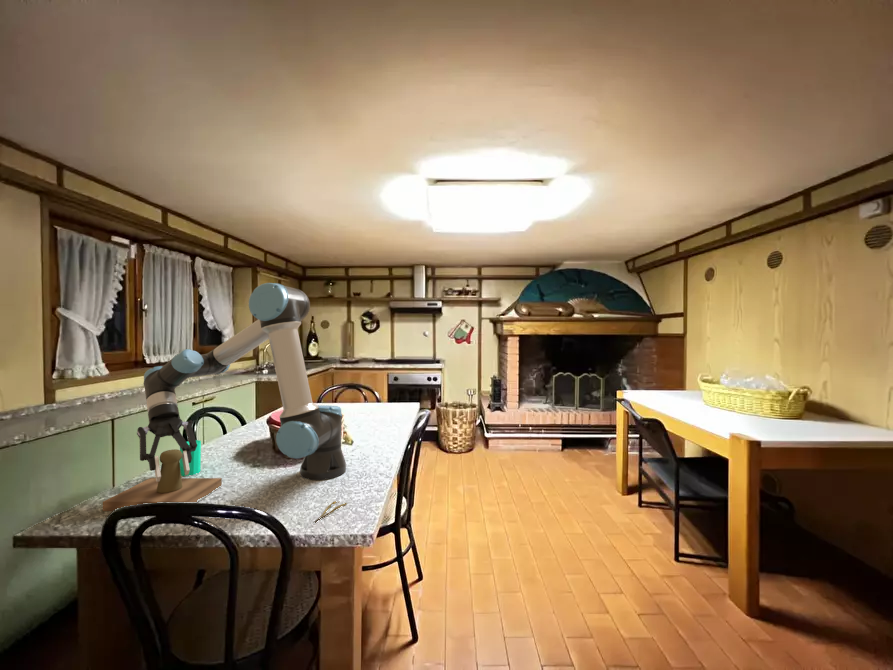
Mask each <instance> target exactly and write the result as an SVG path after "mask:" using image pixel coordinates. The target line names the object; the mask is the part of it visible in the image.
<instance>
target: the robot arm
mask: <svg viewBox="0 0 893 670" xmlns="http://www.w3.org/2000/svg"><path fill="white" fill-rule="evenodd" d="M248 310H249V311H250V313H251V315H252V316H253V317H254V318H256V319H257V320H255V321H254V322H252V323H250V324H249V325H248V326H247V327H244V328H243V329H242V330H240V331H239V332H238V333H236V334H234V335H233V336H231V337H230V338H228V339H227V340H226V341H224V342H223V343H221V344H219V345H218V346H216V347H215V348H214V349H212V350H211V351H208V352H207V353H205V354H201V353H199V352H198V351H196V350H192V349H187V348H185V349H183V350H181V351H180V352H179V353H177V354H176V355H174V356H173V357H172V358H171V359H170V360H169V361H168V362H166V363H165V364H164V365H160V366H159V365H158V366H153V367H152V368H149V369H148V370H146V371H145V373H143V384H142V385H143V386H144V393H145V400H146V409H147V416H148V425H147V426H144V427H143V426H139V427H138V428H137V429H136V430H137V432H136V435H137V437H138V439H139V460H140V461H142V462H143V461H147V462H148V466H149V471H151V472H152V471H154V475H155V478H156V482H158V481H160V478H161V472H160V471H161V467H160V457H159V455H156V452H157V449H158V446H159V444H160V439H161V438H164V437H172V438H173V439H174V441H176V444H177V445H178V447H179V449H180V448H181V449H182V451H183V454H182V461H183V466H184V472H185V475H188V474H189V471H190V468H189V463H191V460H192V456H191V452H192V451H195V450H196V447H197V443H196V440H197V439H196V436H195V432H194V429H193V420H188V421H183V419H182V418H181V417H180V412H179V411H180V410H179V407H178V400H177V396H176V395H177V394H176V389H177V387H178V386H180V385H182V383H184V382H185V381H187V379H190V378H197V377H205V376H214V375H215V376H216V375H220V374H223V373H226V372H227V371H228V370H229V368H230V367H231V364H233V363H234V362H236V361H238V360H239V359H240V358H243V357H244V356H245V355H246V354H248V353H250V352H251V351H253V350H254V349H256V348H258V347H259V346H260V345H262V344H263V343H265V342H267V341H269V345H270V349H271V350H270V351H271V354H272V355H271V356H272V360H273V365H274V371H275V375H276V380H277V384H278V389H279V394H280V399H281V404H282V409H283V410H282V412H281V414H280V415H279V421H280V422H279V423H280V427H279V428H278V431H276V436H275V440H276V445H277V448H278V449H279V451H280V452H281V453H282V454H283V455H284V456H287V457H288V458H290V459H297V460H299V459H302V462H301V464H300V469H299V472H300V474H299V475H300V477H302V478H303V479H306V480H313V481H319V480H320V481H322V480H328V479H329V480H330V479H333V478H336V477H339V476H342V475H343V474H344V473H345V472H346V470H347V462H346V459H345V456H344V453H343V450H342V421H343V419H342V417H343V415H342V408H341V407H340V406H338V405H325V404H324V405H323V404H322V405H317V404H315V403H314V401H313V399H312V398H313V397H312V393H311V388H310V383H309V379H308V373H307V368H306V363H305V358H304V356H303V349H302V344H301V340H300V336H299V331H298V330H299V327H300V326H301V325H302V321H303V320H305V319H306V317H307V316H308V315H309V312H310V310H311V301H310V299H309V297H308V295H307V294H306V293H305V292H304V291H302V290H301V289H299V288H296V287H291V286H287V285H283V284H281V283H277V282H274V283H273V282H266V283H262V284H260V285H258V286H256V287H255V288H254V289H253V291H252V292H251V293H250V295H249V298H248ZM181 427H183V429H184V430H185V434H186V437H187V440H188V441H189V444H190V446H189V445H188V443H187V442H188V441H187V440H186V439H185V438H184V436H183V435H182V433H181V430H180V428H181ZM148 432H150V433H151V434H153V435H154V439H153V442H152V445H151V448H150V452H149V453H147V435H148Z"/></svg>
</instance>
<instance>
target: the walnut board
mask: <svg viewBox="0 0 893 670" xmlns="http://www.w3.org/2000/svg"><path fill="white" fill-rule="evenodd" d="M181 478H182V488H181V489H179V490H176V491H172V492H167V493H159V492H157V486H158V482H156V477H154V478H153V477H149V478H148V479H145V480H143V481H142V482H139V483H138V484H136V485H134V486H132V487H130V488H127V489H126V490H124V491H122V492H120V493H117V494H115V495H114V496H112V497H109V498H107V499H106V500H103V501H102V512H114V511H113V510H115V509H117V508H121V507H124V506H130V505H137V504H143V503H157V502H197V500H198V499H200V498H202V497H204V496H206V495H208V494H209V493H211V492H212V491H213V490H215V489H216V488H218V487H219V486H221V485H223V484H222V482H223V480H222V479H223V478H221V477H208V478H207V477H202V478H201V477H196V478H195V477H181ZM221 487H222V486H221ZM218 489H219V488H218ZM215 491H216V490H215ZM211 494H212V493H211ZM208 496H209V495H208Z"/></svg>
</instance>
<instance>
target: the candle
mask: <svg viewBox="0 0 893 670" xmlns="http://www.w3.org/2000/svg"><path fill="white" fill-rule="evenodd" d="M186 442H187V443H188V445H189V446H190V444H189V441H186ZM196 443H197V447H196V450H195V451H192V452H191V456H192V460H191V463H189V468H190V471H189V474H188V475H185V472H184V466H183V461H182V458H181V459H180V461H179V462H180V470H181V477H190V476H189V475H191V476H194V475H193V474H195V475H197V474H196V473H198V474H199V472H200V471H201V467H202V464H201V463H202V461H201V460H202V459H201V458H202V441H201V440H200V439H196ZM179 450H180V451H181V452H182V454H183V451H182V449H181V448H180V447H179ZM200 473H201V472H200Z"/></svg>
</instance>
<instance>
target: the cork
mask: <svg viewBox="0 0 893 670" xmlns="http://www.w3.org/2000/svg"><path fill="white" fill-rule="evenodd" d="M181 458H182V452H181V451H180V449H167V450H164V451H163V452H161V453H160V455H159V463H160V464H161V467H160V472H161V478H160V481H158V486H157V492H159V493H167V492H172V491H176V490H179V489H181V488H182V478H183V477H182V476H181V470H180V459H181Z"/></svg>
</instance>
